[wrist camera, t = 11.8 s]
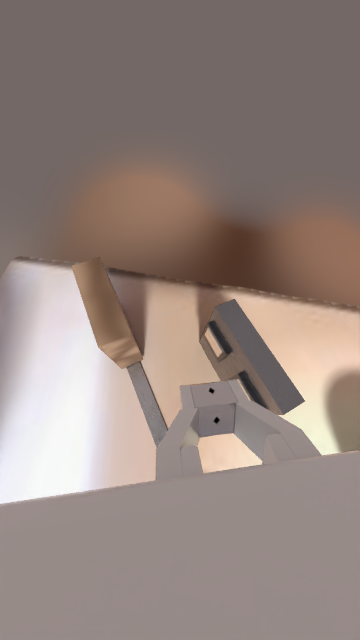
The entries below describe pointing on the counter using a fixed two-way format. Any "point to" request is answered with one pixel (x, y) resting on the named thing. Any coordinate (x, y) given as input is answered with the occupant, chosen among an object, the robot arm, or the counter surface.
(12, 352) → the counter surface
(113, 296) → the brown flat angular block
